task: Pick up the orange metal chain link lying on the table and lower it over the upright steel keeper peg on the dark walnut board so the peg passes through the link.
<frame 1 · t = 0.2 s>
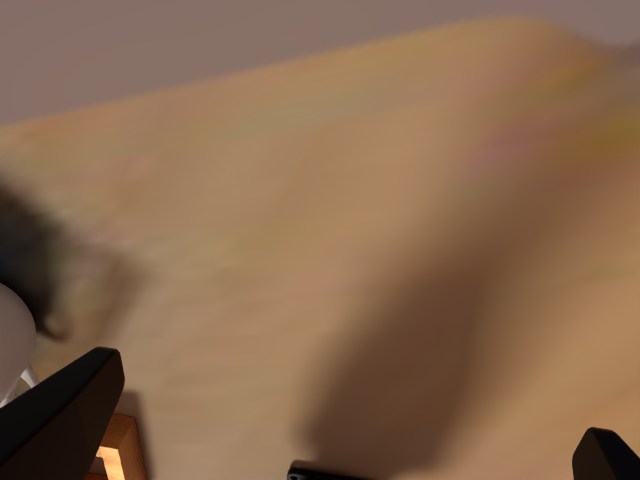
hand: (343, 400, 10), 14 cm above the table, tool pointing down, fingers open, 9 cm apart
teacup: (10, 316, 32), on the table
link: (103, 450, 38), on the table
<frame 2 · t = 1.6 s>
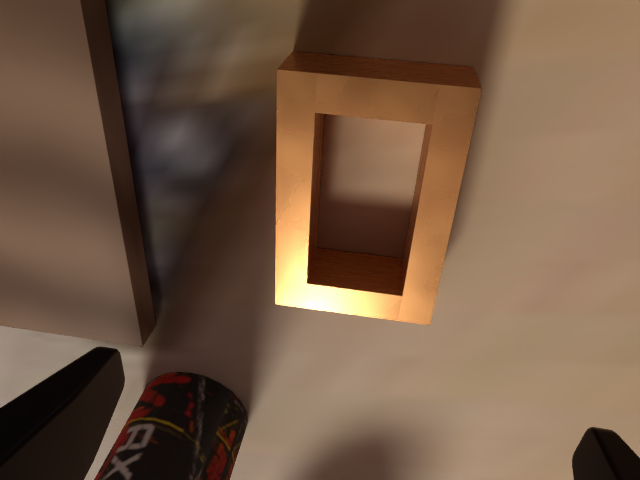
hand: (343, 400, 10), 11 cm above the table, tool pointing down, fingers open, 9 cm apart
deodorant: (196, 408, 29), on the table
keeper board: (29, 165, 21), on the table
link: (367, 181, 20), on the table
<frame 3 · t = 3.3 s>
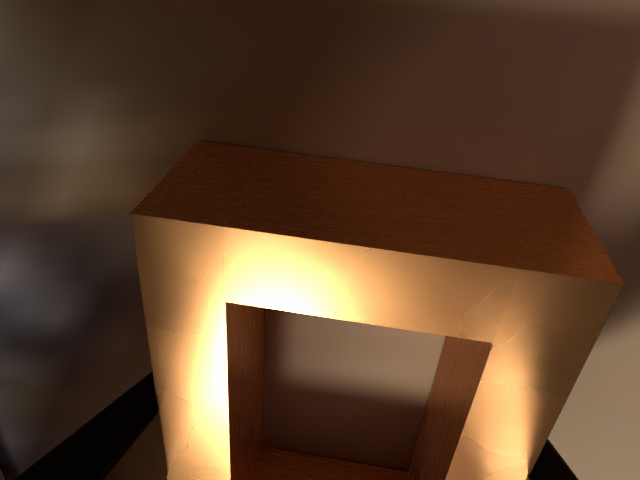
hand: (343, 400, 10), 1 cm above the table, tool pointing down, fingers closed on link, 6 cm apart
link: (348, 362, 11), on the table, touching gripper
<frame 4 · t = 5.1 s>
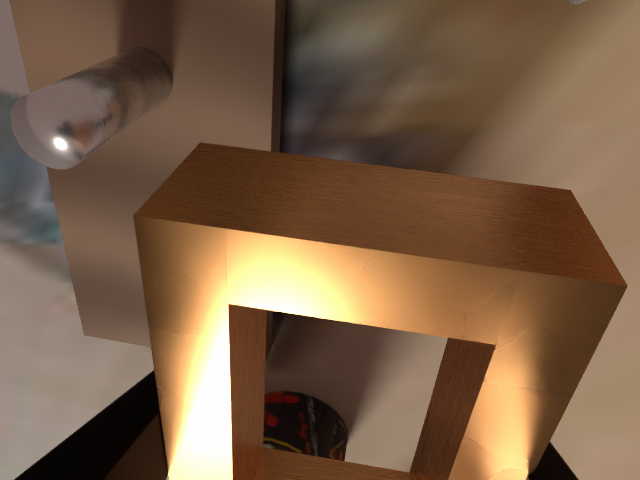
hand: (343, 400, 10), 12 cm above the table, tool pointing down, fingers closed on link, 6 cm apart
deodorant: (295, 426, 29), on the table
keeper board: (172, 188, 22), on the table
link: (350, 363, 11), point 11 cm above the table, touching gripper
keeper peg: (144, 77, 18), resting on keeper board
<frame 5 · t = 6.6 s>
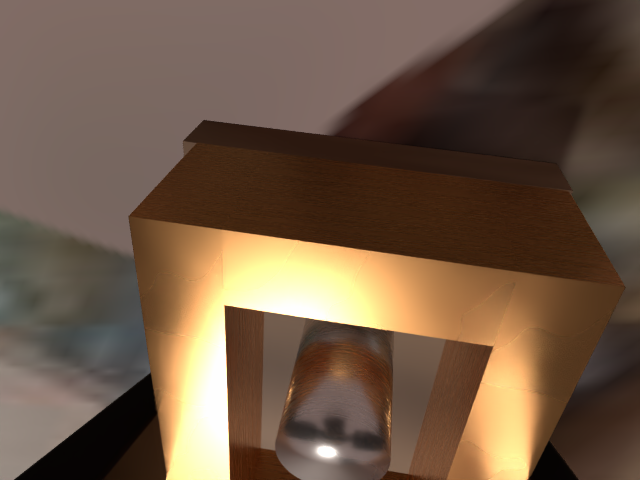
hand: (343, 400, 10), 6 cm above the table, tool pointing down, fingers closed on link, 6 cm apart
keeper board: (343, 364, 17), on the table
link: (348, 364, 11), point 5 cm above the table, touching gripper
keeper peg: (357, 270, 13), resting on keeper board
when the fingers open (4 cm above the table, at t = 7.4 s): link drops 1 cm, resting on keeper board.
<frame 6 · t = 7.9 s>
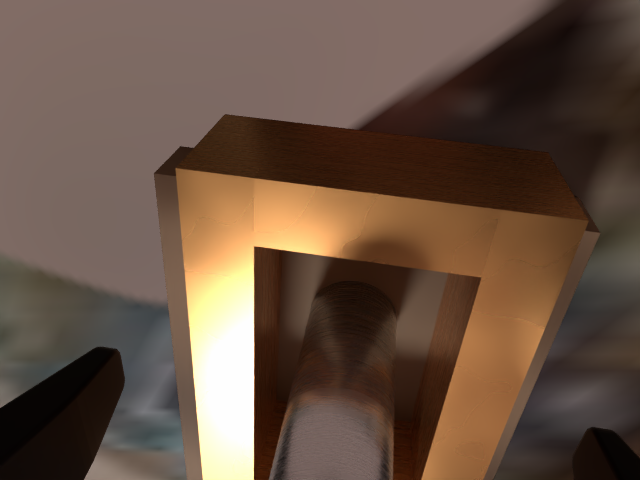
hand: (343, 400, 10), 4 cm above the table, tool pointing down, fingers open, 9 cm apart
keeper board: (339, 407, 16), on the table
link: (356, 317, 12), point 1 cm above the table, touching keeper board
keeper peg: (353, 315, 12), resting on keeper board
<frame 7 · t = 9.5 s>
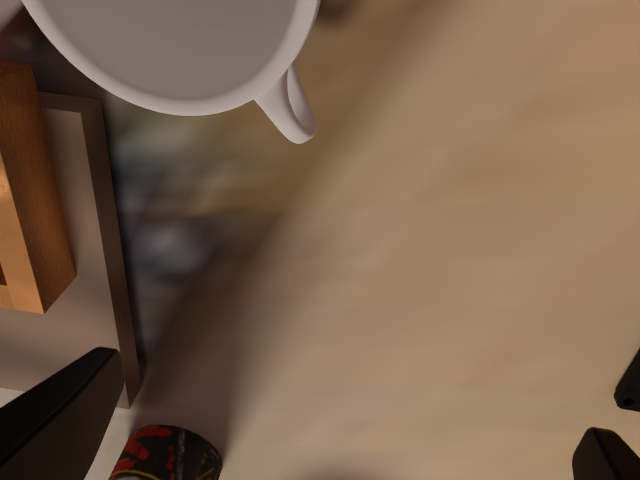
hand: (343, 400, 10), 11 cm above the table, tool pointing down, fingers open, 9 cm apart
deodorant: (175, 453, 32), on the table
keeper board: (30, 255, 24), on the table
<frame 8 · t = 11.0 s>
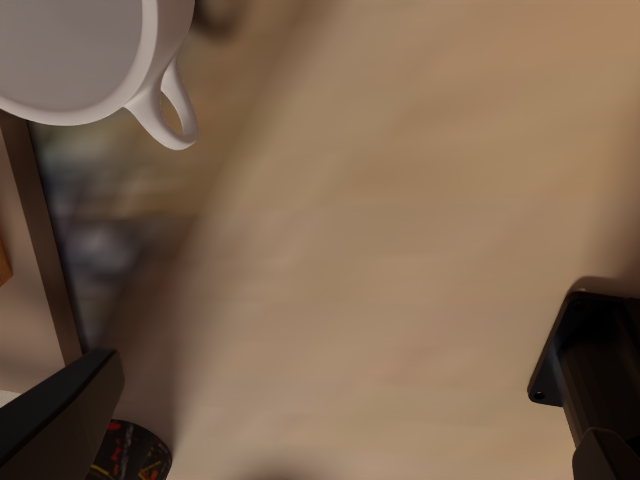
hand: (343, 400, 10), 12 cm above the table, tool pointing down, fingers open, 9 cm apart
deodorant: (128, 447, 33), on the table
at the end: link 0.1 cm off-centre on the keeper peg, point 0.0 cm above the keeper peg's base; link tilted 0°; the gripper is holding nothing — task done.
